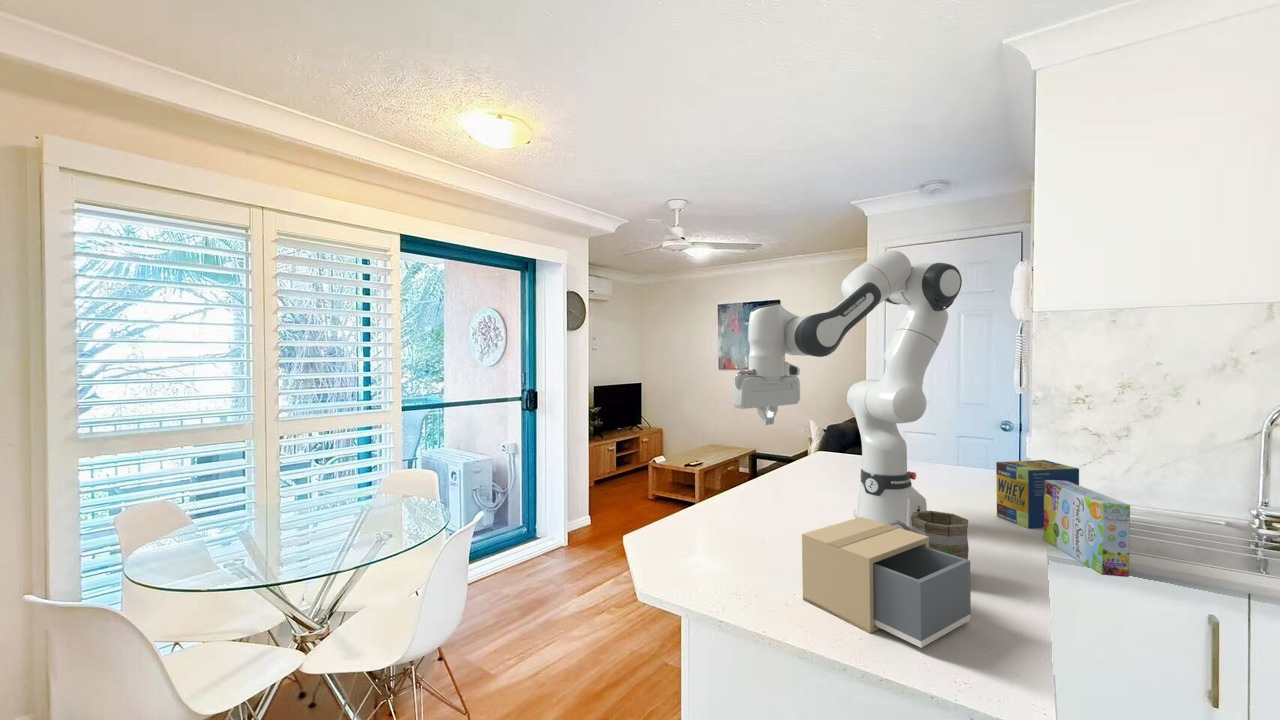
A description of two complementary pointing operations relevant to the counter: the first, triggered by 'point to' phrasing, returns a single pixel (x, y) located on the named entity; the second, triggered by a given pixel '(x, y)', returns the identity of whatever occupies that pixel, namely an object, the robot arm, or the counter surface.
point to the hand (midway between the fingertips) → (767, 424)
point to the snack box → (1088, 526)
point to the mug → (940, 531)
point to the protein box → (1027, 489)
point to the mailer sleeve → (850, 566)
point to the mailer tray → (921, 594)
